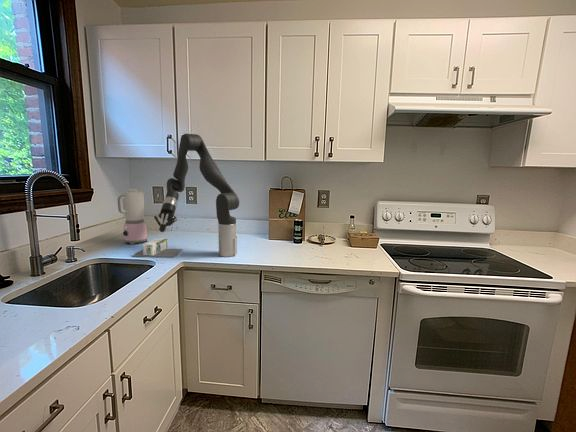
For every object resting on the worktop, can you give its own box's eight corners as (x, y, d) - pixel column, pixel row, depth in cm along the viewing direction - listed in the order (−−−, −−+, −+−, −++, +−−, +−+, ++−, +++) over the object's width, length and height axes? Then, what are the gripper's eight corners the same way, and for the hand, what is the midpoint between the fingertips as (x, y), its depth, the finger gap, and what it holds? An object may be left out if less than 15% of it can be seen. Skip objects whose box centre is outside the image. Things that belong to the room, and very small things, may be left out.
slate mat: (182, 249, 161) (182, 248, 161) (173, 257, 148) (173, 256, 147) (144, 249, 161) (144, 248, 161) (131, 256, 147) (131, 255, 147)
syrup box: (168, 248, 162) (153, 255, 148) (158, 247, 162) (142, 255, 148) (167, 238, 161) (152, 245, 147) (157, 237, 162) (142, 244, 147)
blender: (139, 238, 183) (135, 188, 178) (152, 241, 177) (149, 189, 172) (114, 244, 169) (110, 189, 164) (127, 247, 164) (123, 191, 158)
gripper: (155, 202, 165) (147, 227, 155) (178, 202, 165) (171, 227, 155) (160, 209, 171) (151, 234, 161) (182, 210, 171) (175, 235, 161)
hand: (161, 231), depth 158 cm, fingers closed
